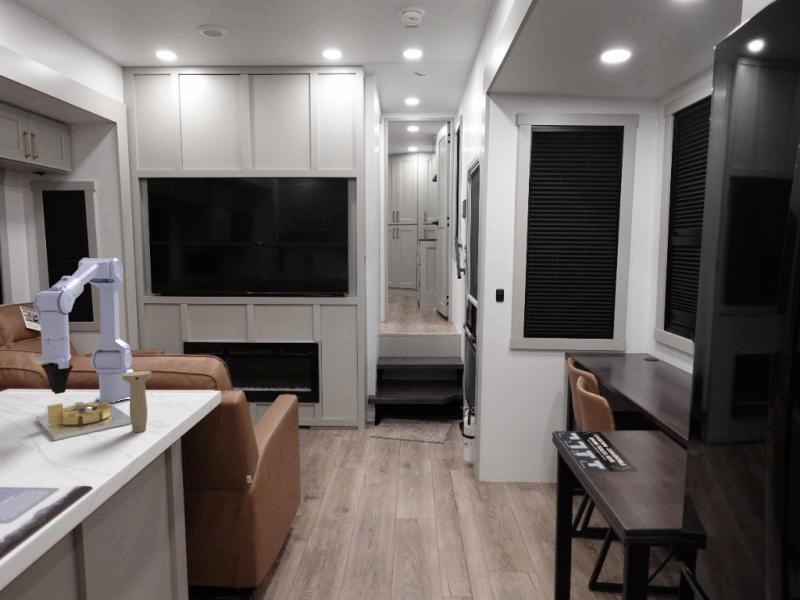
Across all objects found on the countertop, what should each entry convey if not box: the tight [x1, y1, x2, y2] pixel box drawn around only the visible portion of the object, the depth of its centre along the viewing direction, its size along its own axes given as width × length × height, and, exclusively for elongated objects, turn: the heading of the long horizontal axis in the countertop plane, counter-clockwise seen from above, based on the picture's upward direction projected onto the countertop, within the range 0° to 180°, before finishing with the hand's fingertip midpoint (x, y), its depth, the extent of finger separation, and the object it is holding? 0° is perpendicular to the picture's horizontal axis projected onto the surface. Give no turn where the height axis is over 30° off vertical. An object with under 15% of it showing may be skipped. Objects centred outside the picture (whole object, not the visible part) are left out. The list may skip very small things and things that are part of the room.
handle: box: [123, 370, 152, 433], centre depth 128 cm, size 5×6×15 cm
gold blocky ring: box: [47, 401, 112, 425], centre depth 134 cm, size 14×12×5 cm
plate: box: [35, 403, 131, 441], centre depth 134 cm, size 18×20×4 cm
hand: (58, 392), depth 126 cm, fingers closed
